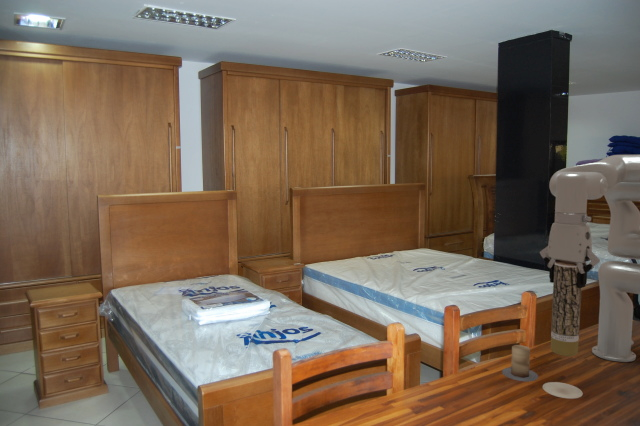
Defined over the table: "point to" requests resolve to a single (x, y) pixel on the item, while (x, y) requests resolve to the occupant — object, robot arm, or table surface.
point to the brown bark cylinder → (565, 309)
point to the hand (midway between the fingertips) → (567, 284)
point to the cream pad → (562, 390)
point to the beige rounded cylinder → (520, 361)
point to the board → (531, 377)
